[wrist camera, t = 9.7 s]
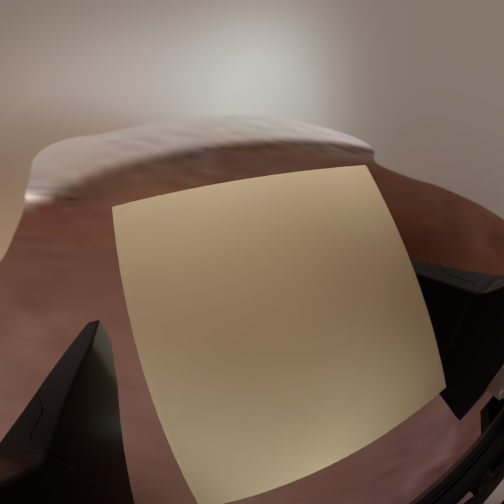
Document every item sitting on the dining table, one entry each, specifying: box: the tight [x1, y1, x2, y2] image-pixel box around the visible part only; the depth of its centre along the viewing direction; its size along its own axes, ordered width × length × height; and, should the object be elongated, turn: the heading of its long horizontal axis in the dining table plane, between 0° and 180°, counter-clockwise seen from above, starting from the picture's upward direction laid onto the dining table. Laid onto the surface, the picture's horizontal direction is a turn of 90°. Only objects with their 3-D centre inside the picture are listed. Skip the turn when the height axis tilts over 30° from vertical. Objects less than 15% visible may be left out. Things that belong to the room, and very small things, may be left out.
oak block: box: [112, 165, 446, 504], centre depth 10 cm, size 5×5×13 cm
